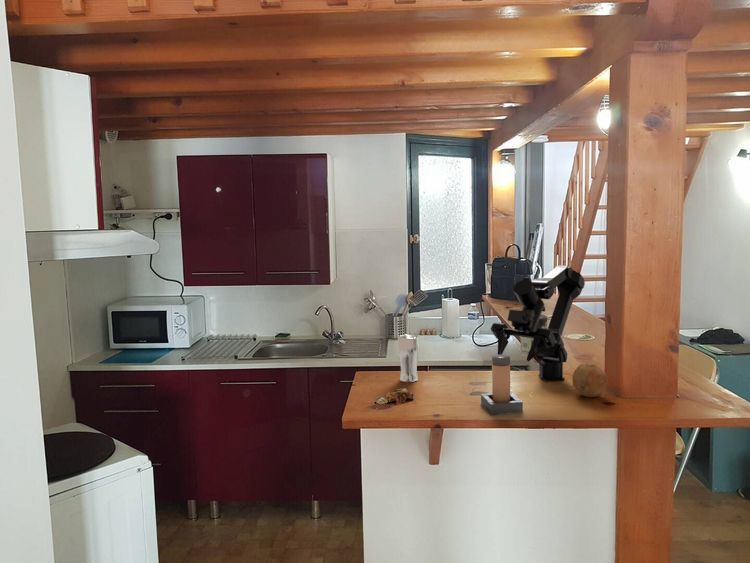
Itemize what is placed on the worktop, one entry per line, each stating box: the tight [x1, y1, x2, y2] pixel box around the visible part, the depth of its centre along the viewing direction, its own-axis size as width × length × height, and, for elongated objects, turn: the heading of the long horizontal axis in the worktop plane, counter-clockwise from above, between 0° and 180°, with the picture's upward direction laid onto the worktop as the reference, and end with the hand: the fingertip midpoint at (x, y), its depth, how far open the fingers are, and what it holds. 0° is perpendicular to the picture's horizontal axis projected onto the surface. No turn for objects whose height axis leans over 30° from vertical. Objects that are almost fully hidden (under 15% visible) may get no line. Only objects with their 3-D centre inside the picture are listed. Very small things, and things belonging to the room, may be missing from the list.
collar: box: [480, 391, 524, 416], centre depth 159 cm, size 9×9×3 cm
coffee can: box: [520, 314, 549, 355], centre depth 217 cm, size 10×10×14 cm
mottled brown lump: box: [374, 387, 415, 404], centre depth 168 cm, size 7×12×4 cm, turn 119°
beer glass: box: [397, 333, 420, 383], centre depth 187 cm, size 7×7×15 cm
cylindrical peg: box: [491, 354, 511, 403], centre depth 158 cm, size 5×5×15 cm
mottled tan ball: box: [571, 362, 608, 398], centre depth 165 cm, size 10×10×10 cm
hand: (512, 358), depth 162 cm, fingers open, 9 cm apart
